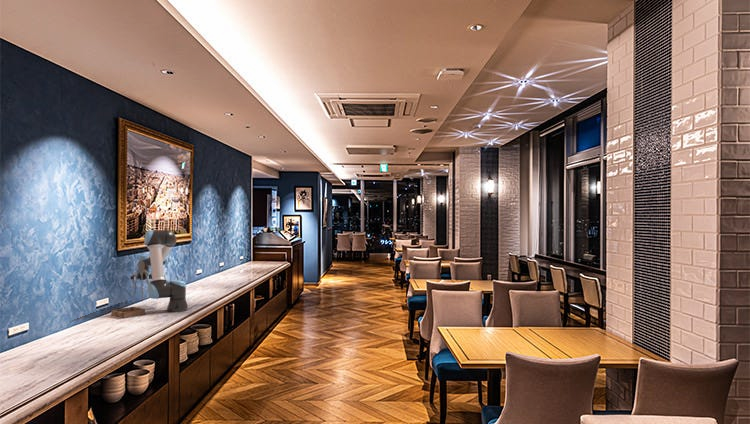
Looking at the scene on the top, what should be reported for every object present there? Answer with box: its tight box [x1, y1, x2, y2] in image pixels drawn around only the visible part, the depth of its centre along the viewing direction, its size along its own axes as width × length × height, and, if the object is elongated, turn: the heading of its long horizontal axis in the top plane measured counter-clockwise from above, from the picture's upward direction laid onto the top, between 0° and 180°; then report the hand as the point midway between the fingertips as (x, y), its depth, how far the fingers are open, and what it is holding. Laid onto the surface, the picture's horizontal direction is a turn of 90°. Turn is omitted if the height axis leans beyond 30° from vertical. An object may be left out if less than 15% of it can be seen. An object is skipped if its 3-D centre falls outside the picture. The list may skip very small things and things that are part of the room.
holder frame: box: [110, 306, 146, 319], centre depth 350 cm, size 16×17×4 cm
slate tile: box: [136, 304, 155, 311], centre depth 372 cm, size 14×14×1 cm
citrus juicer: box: [133, 260, 151, 301], centre depth 371 cm, size 11×10×30 cm
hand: (141, 278), depth 368 cm, fingers closed on citrus juicer, 9 cm apart
